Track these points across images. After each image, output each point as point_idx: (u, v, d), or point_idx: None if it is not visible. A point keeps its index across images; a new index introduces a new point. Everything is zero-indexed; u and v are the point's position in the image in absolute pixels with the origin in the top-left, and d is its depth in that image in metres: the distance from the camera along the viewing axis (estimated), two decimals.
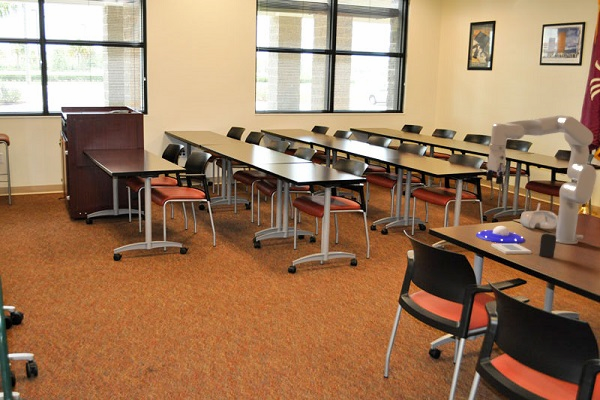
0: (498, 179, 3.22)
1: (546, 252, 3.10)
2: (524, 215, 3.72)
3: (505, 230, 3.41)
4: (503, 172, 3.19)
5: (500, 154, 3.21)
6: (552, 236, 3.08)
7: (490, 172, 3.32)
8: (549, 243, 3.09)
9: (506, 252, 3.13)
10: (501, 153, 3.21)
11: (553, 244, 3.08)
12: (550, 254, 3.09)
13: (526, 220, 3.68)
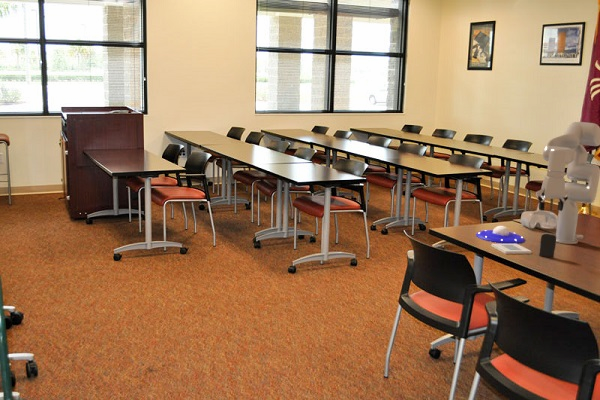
0: (562, 205, 3.08)
1: (546, 252, 3.10)
2: (524, 215, 3.71)
3: (505, 230, 3.41)
4: None
5: None
6: (552, 236, 3.08)
7: None
8: (549, 243, 3.09)
9: (506, 252, 3.13)
10: None
11: (553, 244, 3.08)
12: (550, 254, 3.09)
13: (526, 220, 3.68)
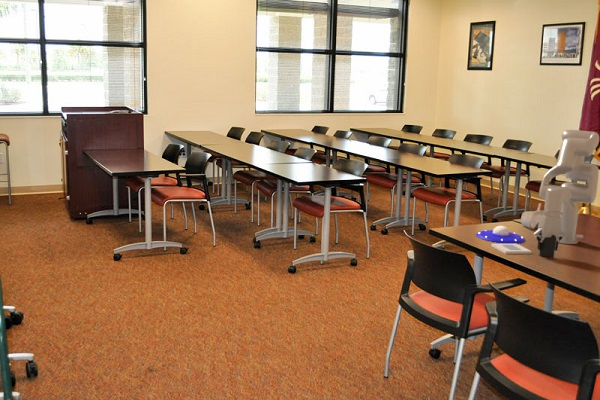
0: None
1: (546, 252, 3.10)
2: (524, 215, 3.71)
3: (505, 230, 3.41)
4: (561, 237, 3.12)
5: None
6: (552, 236, 3.08)
7: None
8: (549, 243, 3.09)
9: (506, 252, 3.13)
10: None
11: (553, 244, 3.08)
12: (550, 254, 3.09)
13: (527, 220, 3.68)
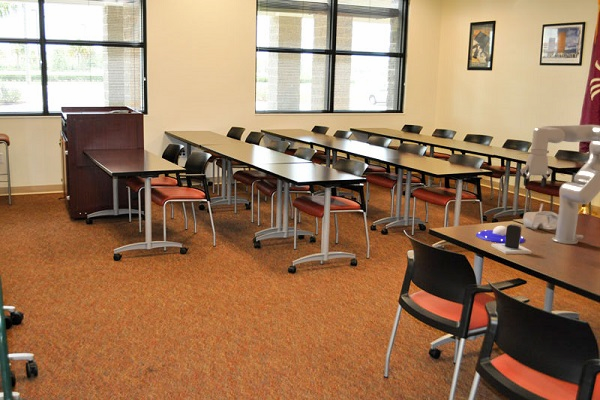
0: (545, 182, 3.28)
1: (511, 243, 3.19)
2: (527, 216, 3.70)
3: (505, 230, 3.41)
4: (549, 174, 3.28)
5: None
6: (517, 227, 3.17)
7: None
8: (514, 234, 3.18)
9: (506, 252, 3.13)
10: None
11: (518, 235, 3.17)
12: (515, 245, 3.18)
13: (529, 221, 3.66)
